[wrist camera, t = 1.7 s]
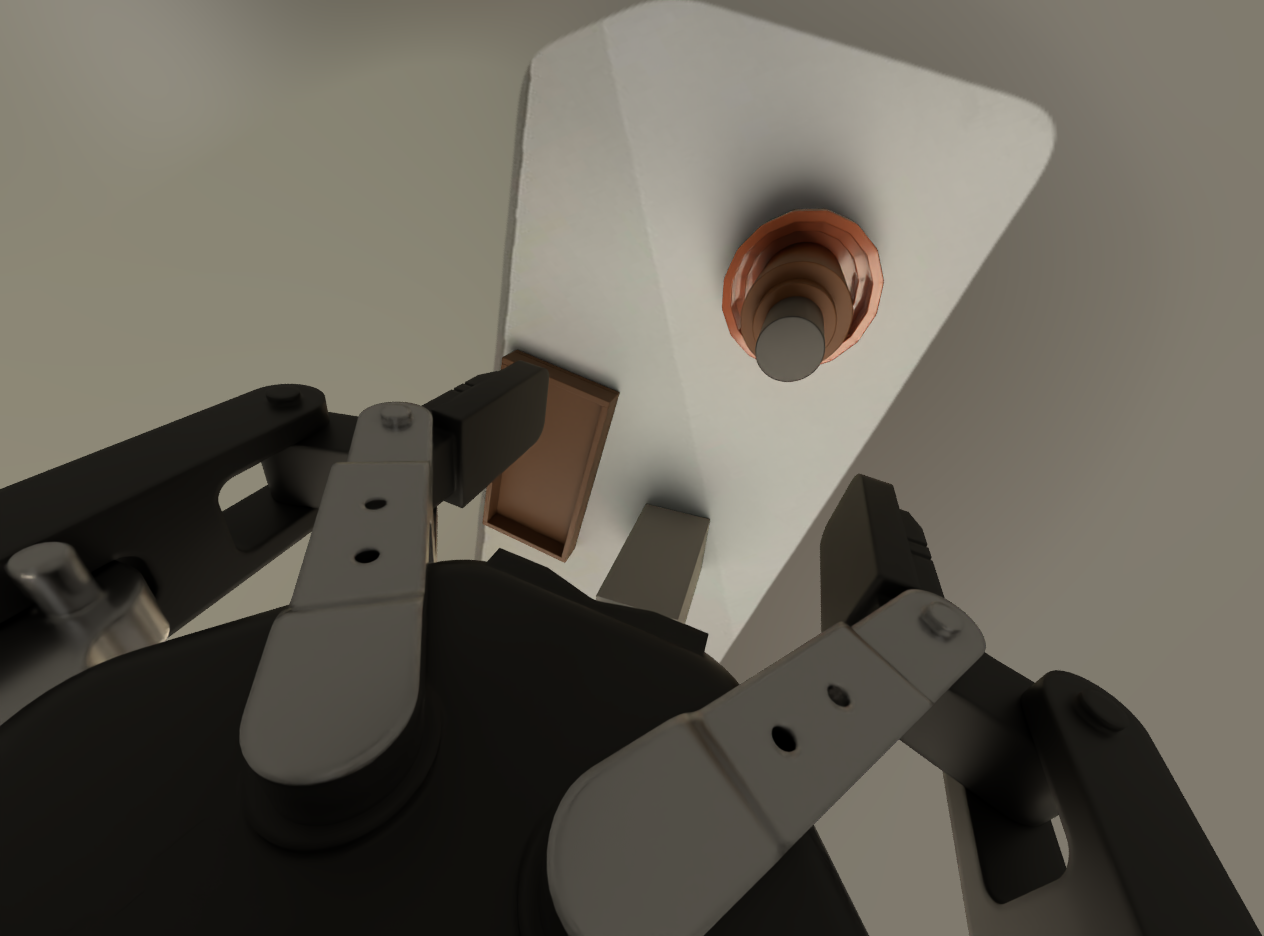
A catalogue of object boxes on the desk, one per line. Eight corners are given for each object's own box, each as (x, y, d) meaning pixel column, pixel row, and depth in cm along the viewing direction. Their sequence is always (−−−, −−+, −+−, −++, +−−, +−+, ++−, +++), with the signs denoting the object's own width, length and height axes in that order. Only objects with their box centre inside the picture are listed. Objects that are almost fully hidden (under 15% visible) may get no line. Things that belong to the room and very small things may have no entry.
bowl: (716, 244, 34) (702, 251, 30) (856, 181, 30) (863, 179, 26) (754, 365, 38) (747, 385, 34) (886, 324, 33) (896, 342, 29)
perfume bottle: (641, 553, 52) (573, 695, 37) (645, 503, 48) (572, 639, 34) (701, 568, 50) (654, 724, 35) (710, 519, 47) (662, 669, 32)
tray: (517, 349, 44) (502, 357, 42) (619, 392, 43) (609, 402, 41) (494, 511, 56) (482, 523, 54) (574, 548, 55) (565, 563, 53)
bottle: (749, 261, 34) (704, 309, 20) (831, 227, 31) (845, 255, 17) (771, 335, 36) (744, 425, 22) (850, 308, 33) (876, 392, 19)
